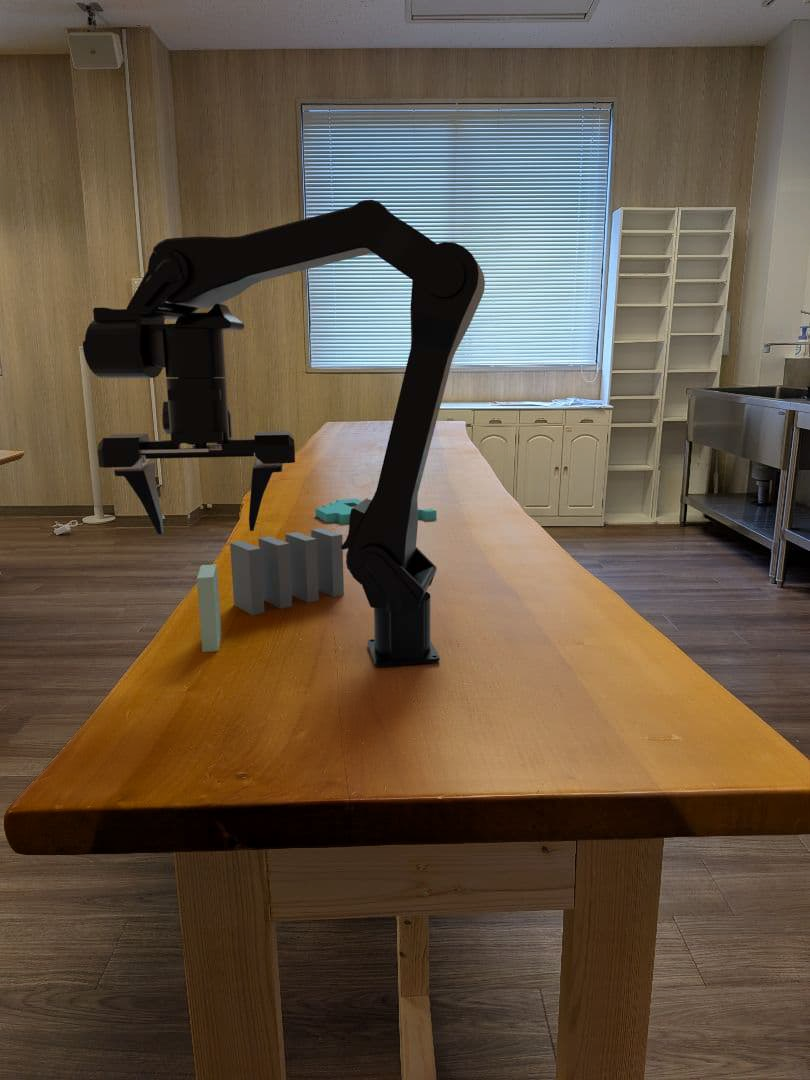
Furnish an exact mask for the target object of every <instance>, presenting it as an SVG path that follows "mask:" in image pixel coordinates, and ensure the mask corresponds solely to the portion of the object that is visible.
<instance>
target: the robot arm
mask: <svg viewBox="0 0 810 1080" xmlns="http://www.w3.org/2000/svg"><path fill="white" fill-rule="evenodd" d="M151 252H152V253H151V254H150V257H149V258H148V259H149V260H148V265H147V271H146V273H145V275H144V276H143V278H142V280H141V282H140V283H139V285H138V287H137V289H136V291H135V292H134V294H133V296H132V297H131V299H130V301H129V303H128V304H127V306H126V308H124V309H123V308H121V309H117V308H112V307H111V308H109V307H94V308H93V309H92V313H93V320H92V321H91V322H90V323H89V324H88V326H87V328H86V332H85V334H84V336H85V337H84V340H83V341H82V350H83V355H84V360H85V362H86V364H87V366H88V367H89V368H88V369H89V370H90V371H91V372H92V373H93V374H94V375H95V376H96V377H98V378H102V379H153V378H156V377H159V376H160V374H161V373H162V371H163V369H164V368H165V383H166V395H167V396H166V398H167V401H163V402H162V413H161V414H162V415H161V417H162V428H163V431H164V432H165V434H167V435H169V436H170V440H168V439H167V440H150V438H149V434H148V433H112V434H110V435H108V436H105V437H103V438H102V439H101V440H100V441H99V442H98V445H97V456H98V458H97V459H98V467H99V468H107V469H108V468H115V469H114V470H113V472H114V473H113V474H114V476H115V477H124V478H125V480H126V482H128V483H127V484H129V485H130V487H131V488H132V490H133V491H134V493H135V494H136V496H137V498H138V499H139V501H140V502H141V504H142V506H143V507H144V509H145V512H146V514H147V516H148V518H149V520H150V522H151V524H152V526H153V527H154V530H155V531H156V534H157V536H161V535H163V534H164V519H163V514H162V507H161V502H160V495H159V493H158V487H157V481H156V469H155V468H156V467H155V466H156V465H155V463H154V462H150V459H152V460H153V459H155V460H156V459H158V460H161V459H196V458H197V459H200V458H239V457H240V458H241V457H245V458H246V457H253V460H254V463H253V465H252V473H251V484H250V496H249V498H250V499H249V510H248V511H249V513H248V523H249V524H248V525H249V531H250V532H254V530H255V526H256V523H257V519H258V515H259V512H260V508H261V503H262V500H263V497H264V494H265V491H266V489H267V486H268V484H269V482H270V480H271V477H272V475H273V473H281V472H283V464H295V463H296V453H295V452H296V451H295V449H296V448H295V447H296V445H295V437H294V435H293V434H292V433H291V432H290V431H289V430H284V431H283V430H281V431H280V430H279V431H278V430H275V431H274V430H272V431H255V434H254V438H233V434H232V433H233V432H232V431H233V429H232V415H231V413H230V409H229V407H228V406H229V405H228V391H227V378H226V377H227V376H226V374H227V373H226V361H225V360H226V359H225V343H224V342H225V340H224V331H243V330H244V328H245V323H244V322H242V321H241V320H240V319H239V318H238V317H236V316H235V315H234V314H233V313H232V311H230V309H229V307H228V305H226V304H222V303H224V302H227V301H228V300H230V299H233V298H234V297H237V296H238V295H241V293H243V292H244V291H246V290H247V289H249V288H250V287H251V286H253V285H255V284H258V283H260V282H262V281H265V280H266V281H267V280H270V279H274V278H277V277H281V276H286V275H288V274H289V275H290V274H294V273H297V272H298V273H299V272H301V271H302V272H303V271H306V270H311V269H314V268H318V267H322V266H325V265H326V266H327V265H329V264H333V263H337V262H342V261H346V260H350V259H353V258H357V257H363V256H366V255H376V256H378V257H379V258H380V259H381V260H383V261H384V262H386V263H388V264H389V265H390V266H391V267H393V268H394V269H396V270H397V271H399V272H400V273H402V274H403V275H405V276H406V277H407V278H409V279H411V281H412V283H411V296H410V309H409V310H410V349H409V354H408V358H407V362H406V365H405V366H406V367H405V370H404V373H403V374H404V375H403V379H402V383H401V387H400V391H399V395H398V399H397V405H396V407H395V412H394V416H393V420H392V424H391V428H390V433H389V437H388V442H387V444H386V449H385V454H384V458H383V462H382V466H381V470H380V474H379V478H378V482H377V485H376V486H377V487H376V489H375V492H374V494H373V497H372V499H369V498H365V499H363V500H361V501H362V502H361V503H359V504H358V505H356V506H355V507H354V508H352V509H351V513H350V519H349V523H348V531H347V533H348V534H347V536H346V539H345V541H343V545H342V546H341V549H342V550H343V551H344V550H347V552H346V557H345V564H346V568H347V570H348V571H349V572H350V575H351V576H352V577H353V579H354V580H356V582H358V584H359V585H361V587H362V589H363V592H364V594H365V597H366V599H367V601H368V604H369V607H370V608H372V609H373V613H374V614H373V619H374V620H373V621H374V623H373V624H374V625H373V628H374V631H373V632H374V638H370V639H368V640H367V648H368V649H369V652H370V656H371V658H372V661H373V663H374V666H376V667H390V666H391V667H393V666H403V665H405V666H406V665H416V664H417V665H418V664H431V663H439V662H440V658H441V657H440V655H439V653H438V651H437V650H436V648H435V646H434V644H433V643H432V640H431V594H430V593H429V592H428V589H429V587H430V586H431V585H432V583H433V580H434V578H435V575H436V573H437V566H436V564H434V563H433V562H432V561H431V560H430V559H429V558H428V557H427V556H426V555H425V554H424V553H423V552H422V551H421V550H420V549H419V548H418V547H417V540H418V524H419V519H418V509H419V508H418V496H419V495H418V494H419V491H420V487H421V482H422V479H423V475H424V471H425V467H426V463H427V459H428V455H429V450H430V448H431V444H432V440H433V436H434V432H435V429H436V424H437V420H438V417H439V412H440V409H441V406H442V401H443V397H444V393H445V390H446V386H447V383H448V378H449V373H450V370H451V367H452V363H453V358H454V357H455V354H456V352H457V350H458V348H459V346H460V345H461V342H462V341H463V339H464V337H465V334H466V333H467V331H468V329H469V328H470V325H471V323H472V321H473V318H474V317H475V314H476V312H477V310H478V307H479V304H480V303H481V302H482V301H481V300H482V298H483V295H484V293H485V288H486V287H485V286H486V285H485V284H486V281H485V275H484V272H483V270H482V268H481V266H480V265H479V263H478V261H477V260H476V258H475V256H474V254H472V253H471V252H470V251H469V250H468V249H467V248H466V247H465V246H463V245H460V244H458V243H456V242H450V241H449V242H447V241H443V242H439V243H436V242H435V241H433V239H430V238H429V237H428V236H426V235H424V234H423V233H422V232H421V231H419V230H417V229H416V228H414V227H413V226H411V225H410V224H408V223H407V222H405V221H404V220H402V219H401V218H398V217H397V216H395V215H394V214H393V213H392V212H391V211H390V210H389V209H387V207H386V206H385V205H383V204H382V203H381V202H380V201H377V200H374V199H364V200H361V201H359V202H357V203H356V204H354V205H352V206H348V207H345V208H340V209H338V210H334V211H331V212H327V213H323V214H320V215H319V214H317V215H316V216H315V215H314V216H310V217H308V218H304V219H303V218H302V219H300V220H297V221H291V222H289V223H285V224H281V225H278V226H273V227H270V228H267V229H266V228H265V229H262V230H259V231H255V232H250V233H247V234H244V235H243V234H242V235H240V236H229V237H228V236H204V235H203V236H199V235H198V236H188V237H186V236H184V237H170V238H166V239H163V240H162V241H159V242H157V244H155V245H154V246H153V248H152V251H151ZM210 308H211V309H210ZM200 309H210V310H209V311H208V312H197V311H198V310H200ZM166 320H176V321H175V323H165V321H166ZM231 438H232V439H231ZM181 444H186V445H190V446H191V448H190V447H187V448H184V447H183V448H182V447H181ZM208 444H209V445H208ZM210 444H211V445H210ZM213 444H214V445H213Z"/></svg>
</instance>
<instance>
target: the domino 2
mask: <svg viewBox="0 0 810 1080" xmlns="http://www.w3.org/2000/svg"><path fill="white" fill-rule="evenodd" d="M257 541H258V547H259V548H261V556H262V575H263V594H264V602H266V603H268V604H271V605H272V606H274V607H276V608H278V609H280V610H283V609H287V608H291V607H293V596H292V588H291V566H290V544H289V543H287V542H286V541H283V540H281V539H278V538H276V537H273V536H263V537H258V540H257Z"/></svg>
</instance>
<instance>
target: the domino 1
mask: <svg viewBox="0 0 810 1080" xmlns="http://www.w3.org/2000/svg"><path fill="white" fill-rule="evenodd" d="M229 546H230V547H229V549H230V565H231V579H232V580H231V581H232V595H233V597H232V598H233V606H234V605H235V607H236V606H237V608H238V607H239V608H238V609H240V610H242V611H243V610H244V611H243V612H246V613H247V614H248V615H250V614H251V616H258V615H260V614H261V613H262V614H265V601H264V594H263V575H262V556H261V548H259V546H257V545H254V544H251V543H249V542H246V541H244V540H237V541H232V542H229Z"/></svg>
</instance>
